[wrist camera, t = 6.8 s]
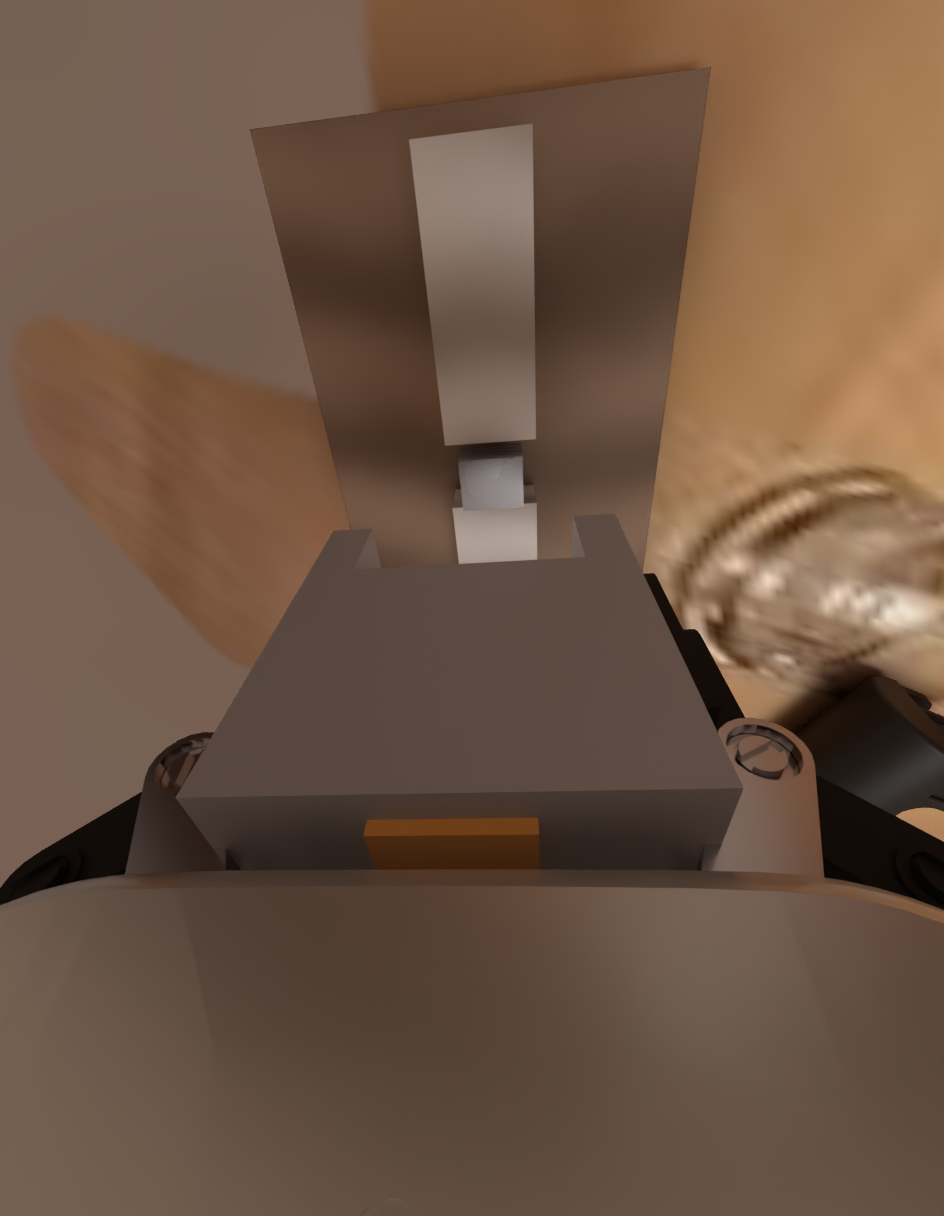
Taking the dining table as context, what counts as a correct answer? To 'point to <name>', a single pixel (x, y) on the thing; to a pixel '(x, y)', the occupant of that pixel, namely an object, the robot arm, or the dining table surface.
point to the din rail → (577, 300)
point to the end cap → (881, 746)
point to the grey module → (468, 722)
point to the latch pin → (491, 476)
